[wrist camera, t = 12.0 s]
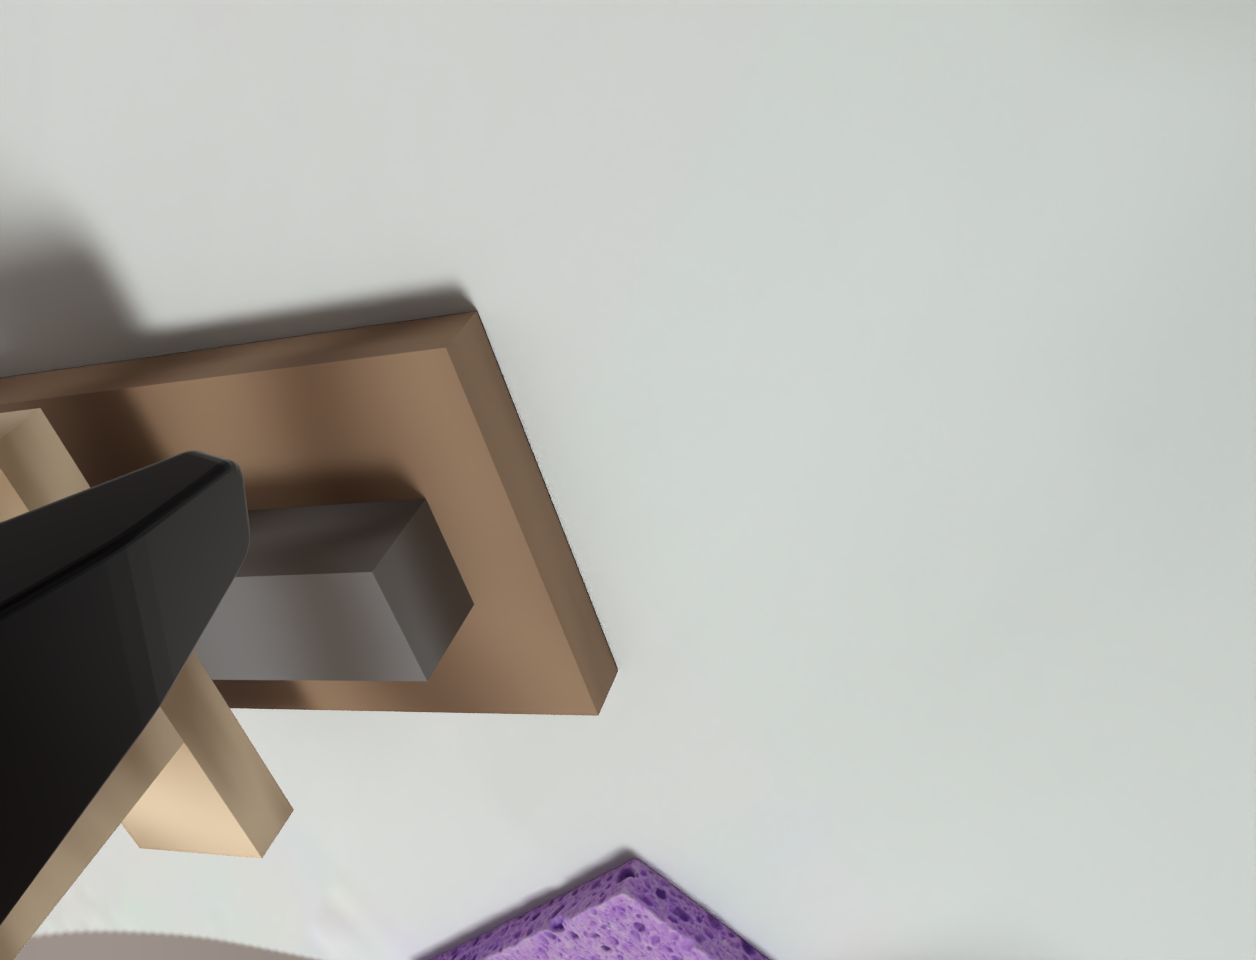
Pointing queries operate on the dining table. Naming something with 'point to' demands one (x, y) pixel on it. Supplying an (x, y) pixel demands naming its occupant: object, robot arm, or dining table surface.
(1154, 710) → the dining table surface
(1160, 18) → the dining table surface
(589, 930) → the sponges
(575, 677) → the stand
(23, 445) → the oak T piece
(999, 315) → the dining table surface
